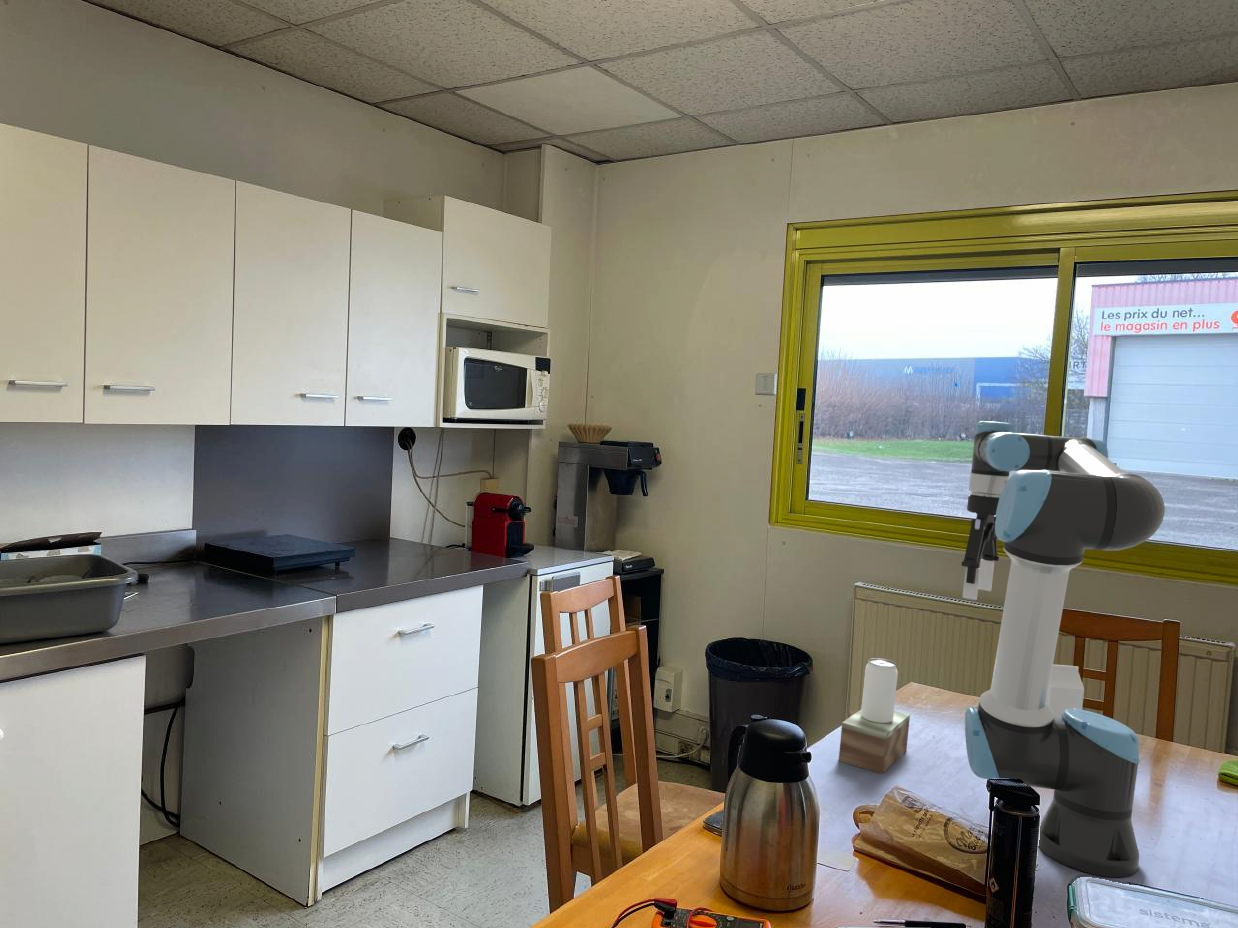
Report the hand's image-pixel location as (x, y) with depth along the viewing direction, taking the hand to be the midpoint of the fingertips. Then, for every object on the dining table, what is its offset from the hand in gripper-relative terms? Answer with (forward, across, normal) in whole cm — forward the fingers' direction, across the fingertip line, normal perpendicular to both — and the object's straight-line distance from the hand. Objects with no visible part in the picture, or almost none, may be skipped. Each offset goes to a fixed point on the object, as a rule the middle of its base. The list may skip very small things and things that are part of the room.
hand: (977, 594), depth 191 cm
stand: (+35, -16, +14) cm, 41 cm away
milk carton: (+35, +19, -15) cm, 43 cm away
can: (+27, -16, +14) cm, 34 cm away
